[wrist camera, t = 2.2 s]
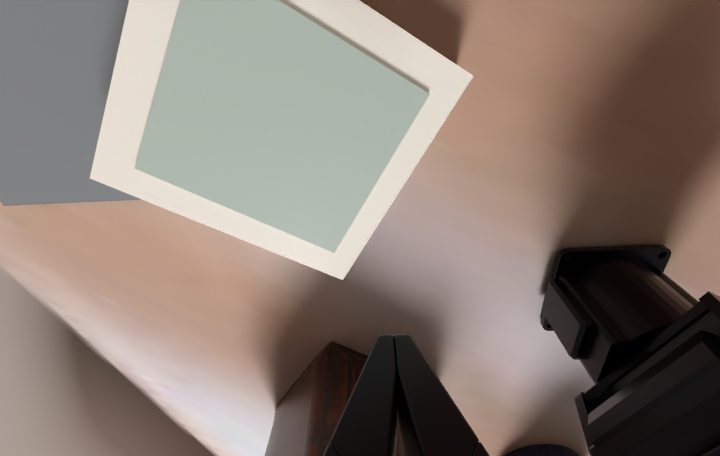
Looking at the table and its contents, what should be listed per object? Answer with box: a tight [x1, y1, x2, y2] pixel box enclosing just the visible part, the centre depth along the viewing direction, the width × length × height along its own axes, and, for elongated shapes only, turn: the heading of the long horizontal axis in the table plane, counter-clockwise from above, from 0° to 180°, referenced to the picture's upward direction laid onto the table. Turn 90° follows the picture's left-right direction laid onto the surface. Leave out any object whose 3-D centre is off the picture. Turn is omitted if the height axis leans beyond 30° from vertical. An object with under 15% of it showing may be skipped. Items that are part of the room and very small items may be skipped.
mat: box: [0, 0, 141, 206], centre depth 16 cm, size 17×18×1 cm
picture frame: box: [90, 0, 473, 280], centre depth 17 cm, size 3×12×13 cm
